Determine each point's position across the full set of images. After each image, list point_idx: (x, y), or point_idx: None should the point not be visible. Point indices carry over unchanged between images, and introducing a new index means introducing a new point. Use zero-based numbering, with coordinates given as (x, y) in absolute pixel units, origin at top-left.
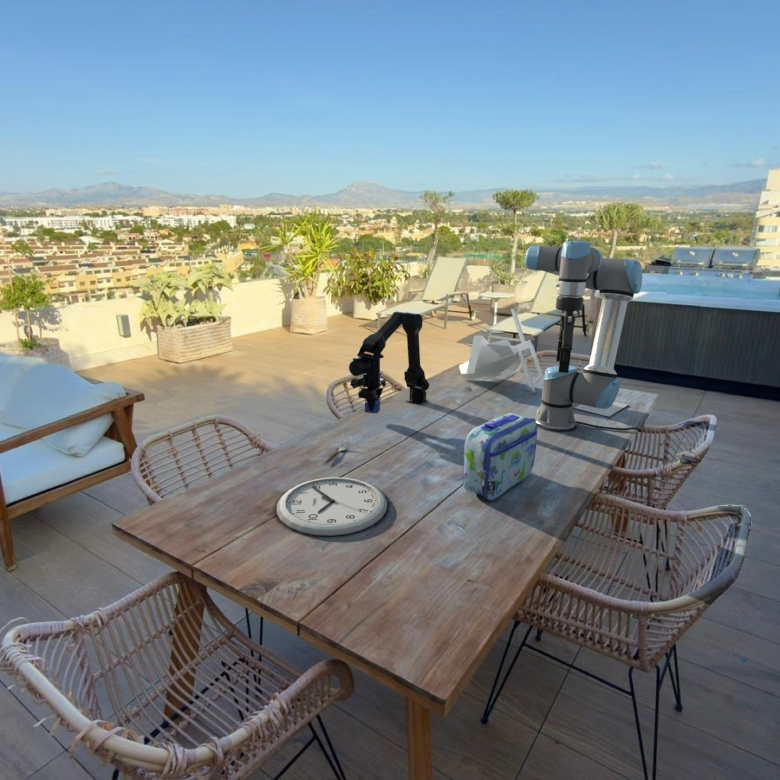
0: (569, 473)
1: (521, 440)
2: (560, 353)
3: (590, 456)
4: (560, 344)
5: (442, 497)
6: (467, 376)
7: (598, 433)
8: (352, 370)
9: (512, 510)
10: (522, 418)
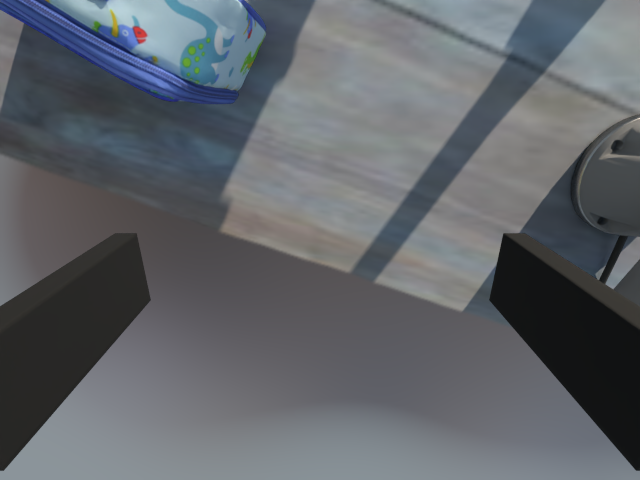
0: (295, 195)
1: (46, 35)
2: (540, 296)
3: (406, 249)
4: (628, 355)
5: None
6: None
7: None
8: None
9: (47, 53)
10: (94, 18)
